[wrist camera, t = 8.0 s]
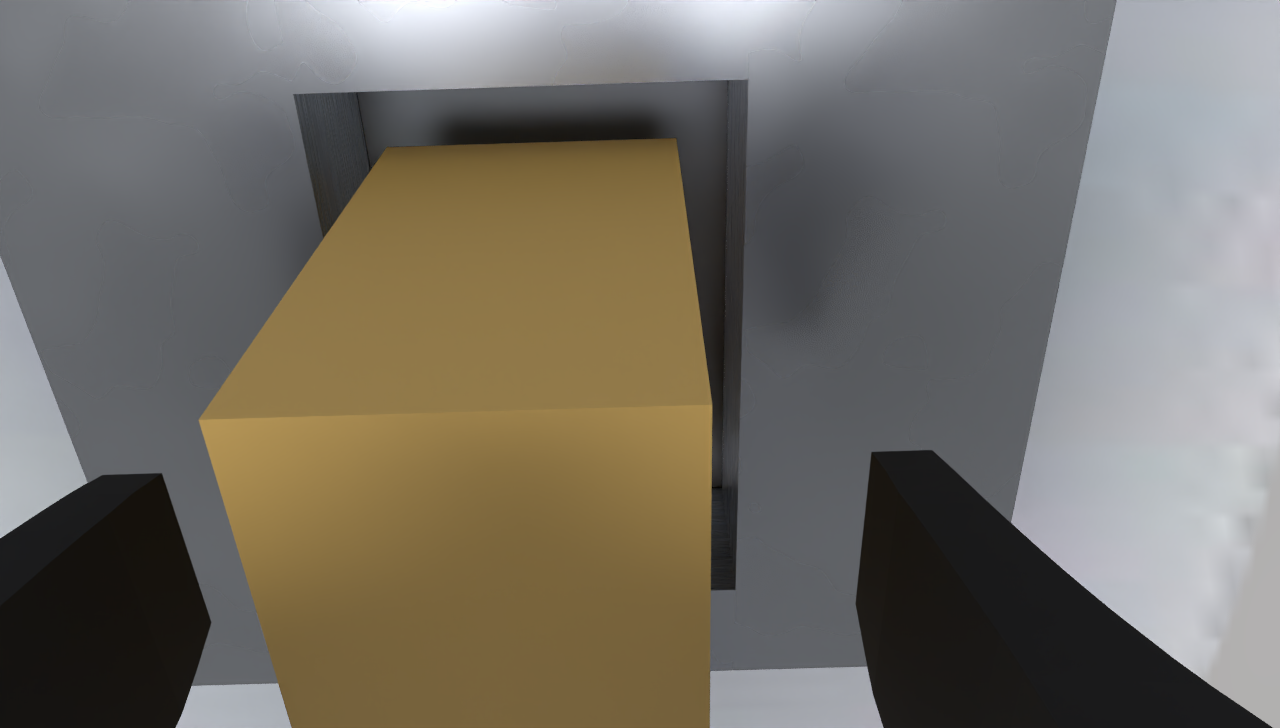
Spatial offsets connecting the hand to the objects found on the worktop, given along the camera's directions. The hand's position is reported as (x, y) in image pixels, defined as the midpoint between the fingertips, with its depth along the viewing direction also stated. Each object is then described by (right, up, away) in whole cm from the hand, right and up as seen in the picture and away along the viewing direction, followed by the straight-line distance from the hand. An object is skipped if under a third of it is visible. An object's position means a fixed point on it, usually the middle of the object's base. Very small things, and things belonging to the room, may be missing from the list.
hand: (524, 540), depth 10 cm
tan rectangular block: (0, +3, +5) cm, 6 cm away
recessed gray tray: (0, +4, +4) cm, 6 cm away
